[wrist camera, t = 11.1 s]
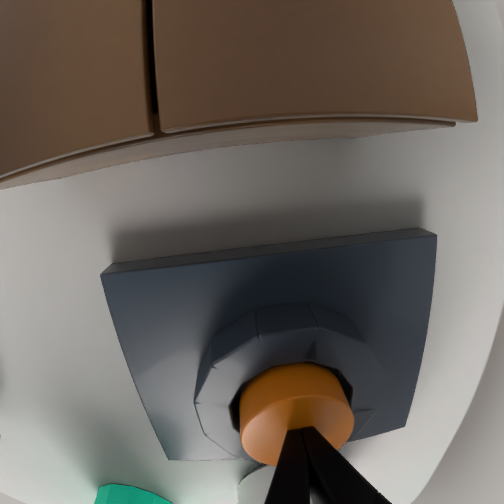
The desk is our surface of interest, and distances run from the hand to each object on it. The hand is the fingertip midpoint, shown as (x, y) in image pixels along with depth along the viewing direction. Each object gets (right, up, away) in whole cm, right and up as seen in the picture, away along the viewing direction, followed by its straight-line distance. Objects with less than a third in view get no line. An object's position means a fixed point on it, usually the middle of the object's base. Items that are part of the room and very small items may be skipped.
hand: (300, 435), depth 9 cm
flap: (-1, +14, -6) cm, 15 cm away
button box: (0, +1, +4) cm, 4 cm away
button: (0, 0, +2) cm, 2 cm away
